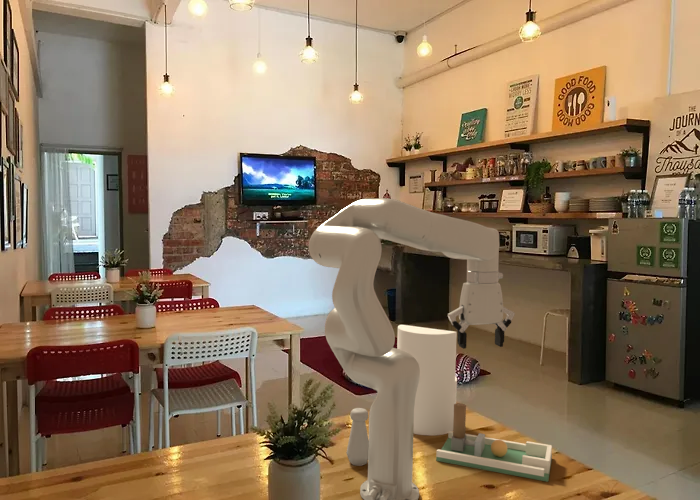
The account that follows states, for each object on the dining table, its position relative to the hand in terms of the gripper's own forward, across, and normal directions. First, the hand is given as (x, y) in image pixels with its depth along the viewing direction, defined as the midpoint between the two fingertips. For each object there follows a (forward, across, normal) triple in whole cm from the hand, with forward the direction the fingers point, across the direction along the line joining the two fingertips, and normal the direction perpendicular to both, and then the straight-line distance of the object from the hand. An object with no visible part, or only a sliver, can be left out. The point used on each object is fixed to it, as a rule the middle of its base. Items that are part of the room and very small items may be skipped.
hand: (480, 346), depth 140 cm
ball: (+25, -4, +3) cm, 25 cm away
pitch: (+28, -3, +3) cm, 28 cm away
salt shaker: (+28, +31, -1) cm, 41 cm away
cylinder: (+28, +6, -23) cm, 37 cm away
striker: (+27, +3, -1) cm, 27 cm away
